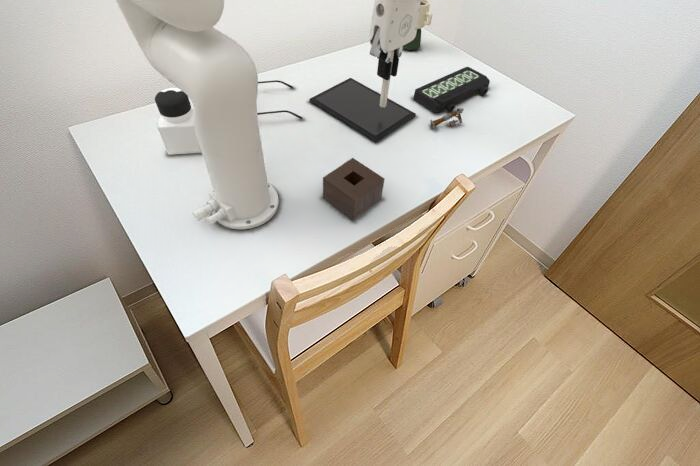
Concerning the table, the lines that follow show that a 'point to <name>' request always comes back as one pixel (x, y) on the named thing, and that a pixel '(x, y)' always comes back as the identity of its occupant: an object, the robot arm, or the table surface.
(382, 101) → the stylus
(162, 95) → the medicine bottle
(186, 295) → the table surface
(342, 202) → the block
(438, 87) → the digital display
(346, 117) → the tablet
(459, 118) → the wooden post with brackets
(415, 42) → the character mug
